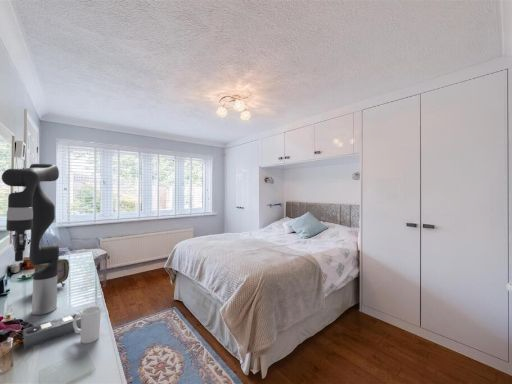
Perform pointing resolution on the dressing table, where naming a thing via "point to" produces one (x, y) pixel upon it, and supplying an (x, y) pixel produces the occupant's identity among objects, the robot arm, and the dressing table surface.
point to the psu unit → (49, 330)
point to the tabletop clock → (62, 270)
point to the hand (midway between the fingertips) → (18, 260)
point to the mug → (88, 324)
